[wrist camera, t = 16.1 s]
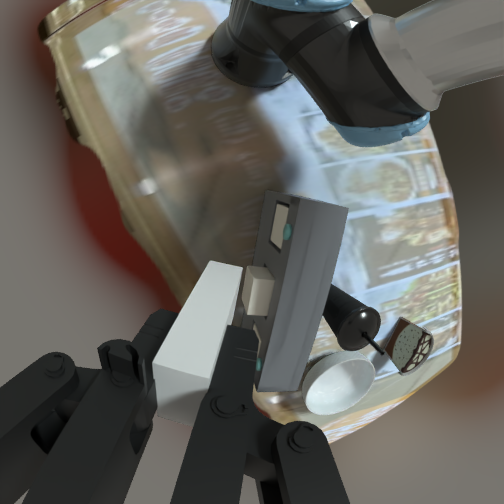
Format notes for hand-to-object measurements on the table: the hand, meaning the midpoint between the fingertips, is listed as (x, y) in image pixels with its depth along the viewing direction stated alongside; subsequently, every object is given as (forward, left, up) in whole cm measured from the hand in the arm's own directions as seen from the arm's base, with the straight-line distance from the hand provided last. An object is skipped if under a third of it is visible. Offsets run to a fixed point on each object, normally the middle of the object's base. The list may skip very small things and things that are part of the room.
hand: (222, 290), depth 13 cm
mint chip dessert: (+30, +44, -32) cm, 62 cm away
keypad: (+10, +10, -31) cm, 35 cm away
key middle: (+10, +7, -24) cm, 27 cm away
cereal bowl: (+36, +25, -32) cm, 54 cm away
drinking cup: (+16, +21, -32) cm, 41 cm away
